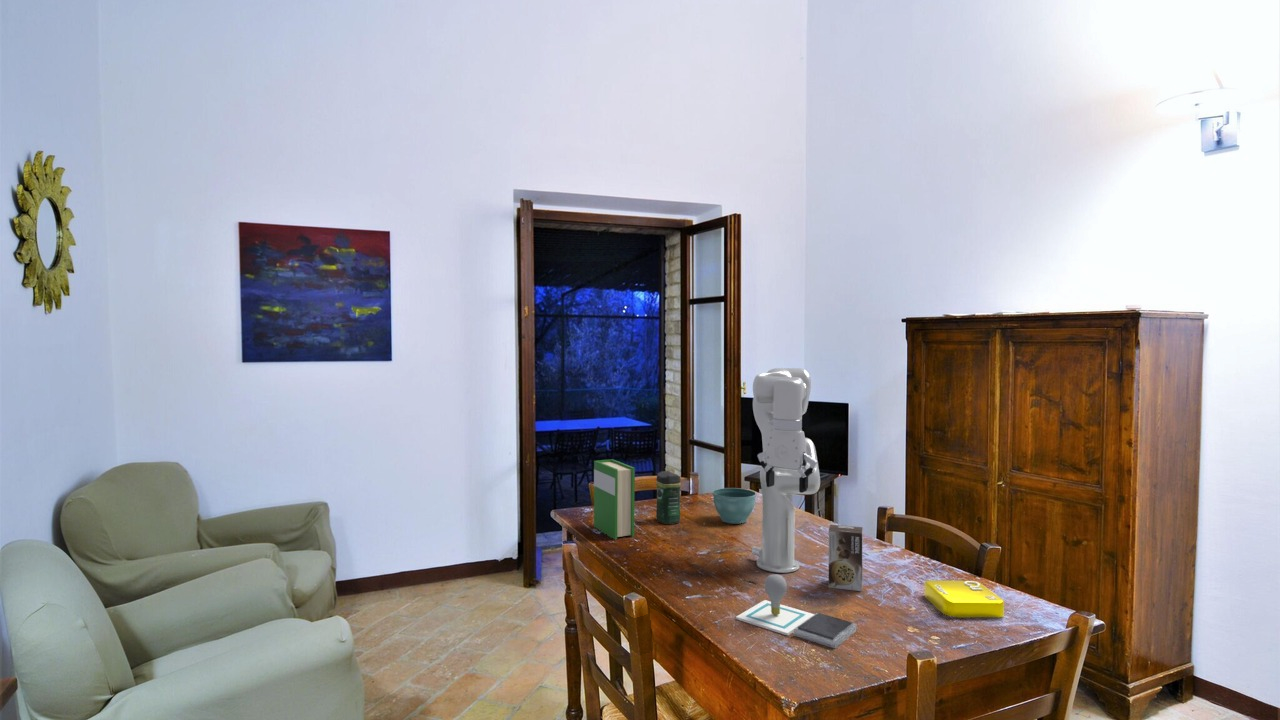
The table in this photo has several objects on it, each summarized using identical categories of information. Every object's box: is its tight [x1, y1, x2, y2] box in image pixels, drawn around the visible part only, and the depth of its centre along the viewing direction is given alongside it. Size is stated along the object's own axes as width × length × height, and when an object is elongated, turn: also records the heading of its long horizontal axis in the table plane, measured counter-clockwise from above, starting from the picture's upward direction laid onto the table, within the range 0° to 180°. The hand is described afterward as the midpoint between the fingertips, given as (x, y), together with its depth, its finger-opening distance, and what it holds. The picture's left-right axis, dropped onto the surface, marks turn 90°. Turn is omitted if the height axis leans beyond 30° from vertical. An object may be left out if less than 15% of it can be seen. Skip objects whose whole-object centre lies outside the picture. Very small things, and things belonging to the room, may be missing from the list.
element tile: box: [924, 580, 1005, 619], centre depth 174 cm, size 15×15×5 cm
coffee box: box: [827, 524, 864, 592], centre depth 187 cm, size 9×6×16 cm
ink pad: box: [793, 612, 858, 649], centre depth 157 cm, size 10×12×2 cm
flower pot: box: [712, 487, 757, 525], centre depth 253 cm, size 16×16×11 cm
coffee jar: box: [655, 470, 682, 525], centre depth 251 cm, size 10×8×19 cm
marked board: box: [735, 599, 816, 636], centre depth 165 cm, size 14×14×1 cm
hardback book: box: [593, 459, 636, 541], centre depth 238 cm, size 18×7×24 cm, turn 28°
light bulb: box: [763, 573, 788, 615], centre depth 166 cm, size 6×6×10 cm
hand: (786, 488), depth 181 cm, fingers open, 9 cm apart
